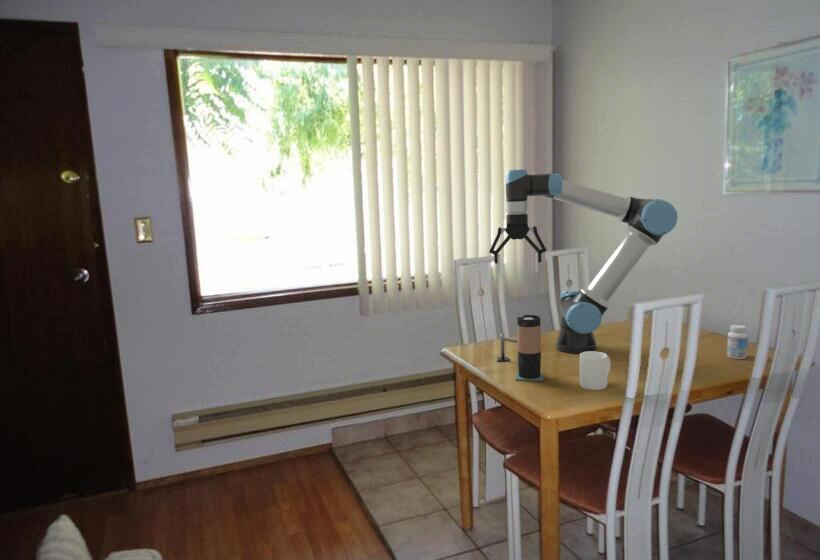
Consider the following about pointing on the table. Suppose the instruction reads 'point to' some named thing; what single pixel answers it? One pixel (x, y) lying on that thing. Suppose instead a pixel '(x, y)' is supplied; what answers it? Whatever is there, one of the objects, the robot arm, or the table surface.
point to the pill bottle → (737, 342)
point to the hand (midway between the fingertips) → (517, 272)
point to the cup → (594, 370)
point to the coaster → (529, 379)
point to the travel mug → (529, 346)
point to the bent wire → (503, 358)
